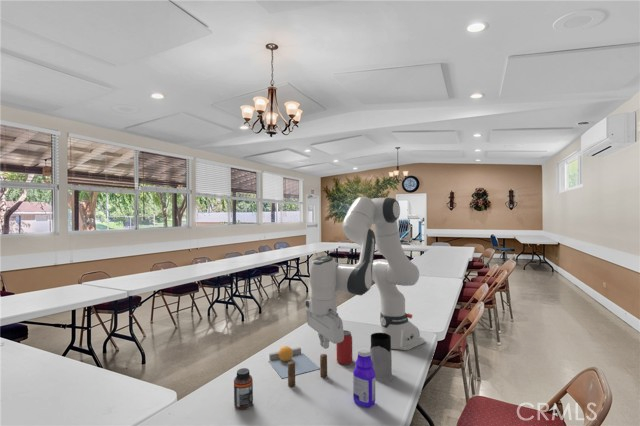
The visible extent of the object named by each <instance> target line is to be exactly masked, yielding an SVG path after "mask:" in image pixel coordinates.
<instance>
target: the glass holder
mask: <svg viewBox="0 0 640 426" xmlns="http://www.w3.org/2000/svg"><path fill="white" fill-rule="evenodd" d="M369 349H370V354H371V360H372V362H373V366H372V367H373V369H374V371H375V382H382V383H383V382H390V381H391V380H393V377H394V376H393V373H392V372H393V366H392V349H391V336H390V335H389V334H386V332H384V333H380V332H374V333H371V334H370V348H369Z"/></svg>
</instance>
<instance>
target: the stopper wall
mask: <svg viewBox="0 0 640 426" xmlns="http://www.w3.org/2000/svg"><path fill="white" fill-rule="evenodd" d="M291 349H292V351H293V356H294V355H298V354H302V348H301V347H300V346H299V347H294V348H291ZM276 359H280V358H279V351H276V352H275V351H274V352H271V353H269V360H268V361H272V360H276Z"/></svg>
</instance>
